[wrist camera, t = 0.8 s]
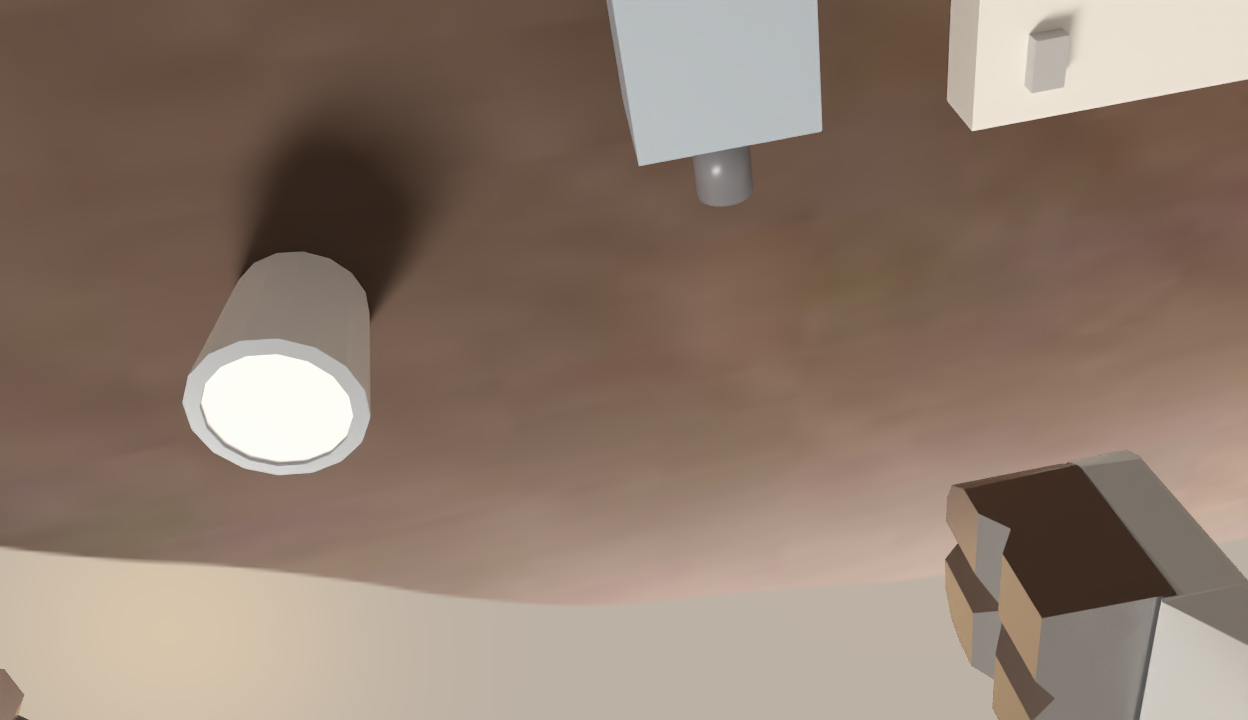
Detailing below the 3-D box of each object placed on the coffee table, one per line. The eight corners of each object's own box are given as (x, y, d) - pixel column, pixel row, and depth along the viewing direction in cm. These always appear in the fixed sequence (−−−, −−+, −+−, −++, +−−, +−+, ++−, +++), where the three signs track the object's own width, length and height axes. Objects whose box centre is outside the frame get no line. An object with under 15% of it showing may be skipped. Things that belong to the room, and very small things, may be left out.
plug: (577, -158, 35) (597, -91, 29) (753, -192, 35) (812, -133, 29) (627, 138, 42) (651, 243, 36) (774, 110, 42) (825, 210, 36)
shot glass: (388, 248, 44) (374, 349, 39) (379, 375, 48) (365, 483, 43) (216, 229, 43) (176, 331, 37) (221, 361, 47) (186, 471, 41)
